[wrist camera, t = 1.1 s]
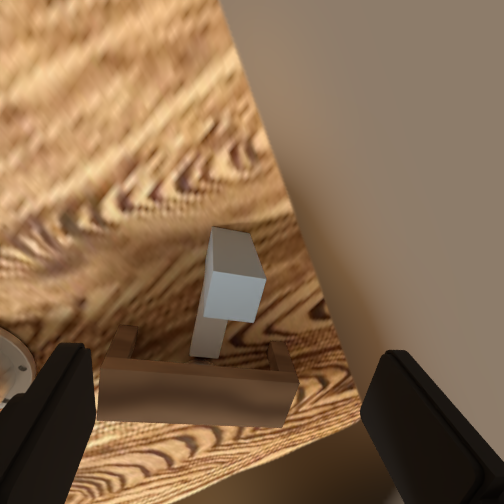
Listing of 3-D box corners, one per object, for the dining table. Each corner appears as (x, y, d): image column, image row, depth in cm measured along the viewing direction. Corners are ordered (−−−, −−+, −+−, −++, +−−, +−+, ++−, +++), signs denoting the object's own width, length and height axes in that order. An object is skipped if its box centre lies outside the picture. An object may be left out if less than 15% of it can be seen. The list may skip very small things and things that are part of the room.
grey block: (212, 226, 30) (213, 271, 21) (249, 233, 31) (266, 279, 22) (187, 348, 36) (180, 425, 27) (220, 351, 37) (223, 426, 28)
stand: (271, 383, 40) (281, 428, 34) (115, 371, 36) (96, 420, 30) (285, 342, 37) (299, 383, 32) (119, 324, 33) (100, 368, 27)
